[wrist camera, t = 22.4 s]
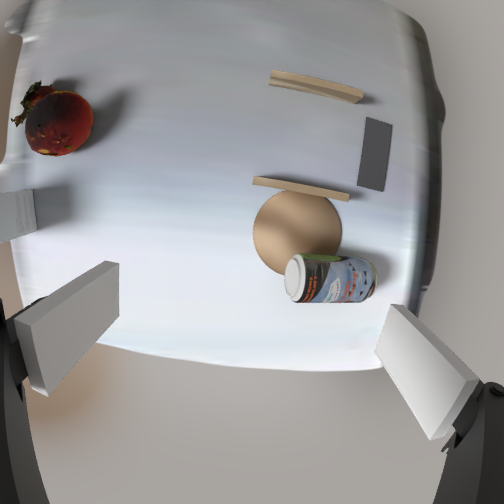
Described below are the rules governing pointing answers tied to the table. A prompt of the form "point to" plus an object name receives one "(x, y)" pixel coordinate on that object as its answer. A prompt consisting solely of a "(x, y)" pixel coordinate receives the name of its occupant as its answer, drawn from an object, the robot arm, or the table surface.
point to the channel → (320, 89)
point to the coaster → (295, 228)
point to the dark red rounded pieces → (55, 120)
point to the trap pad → (374, 154)
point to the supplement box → (16, 214)
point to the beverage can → (329, 279)
